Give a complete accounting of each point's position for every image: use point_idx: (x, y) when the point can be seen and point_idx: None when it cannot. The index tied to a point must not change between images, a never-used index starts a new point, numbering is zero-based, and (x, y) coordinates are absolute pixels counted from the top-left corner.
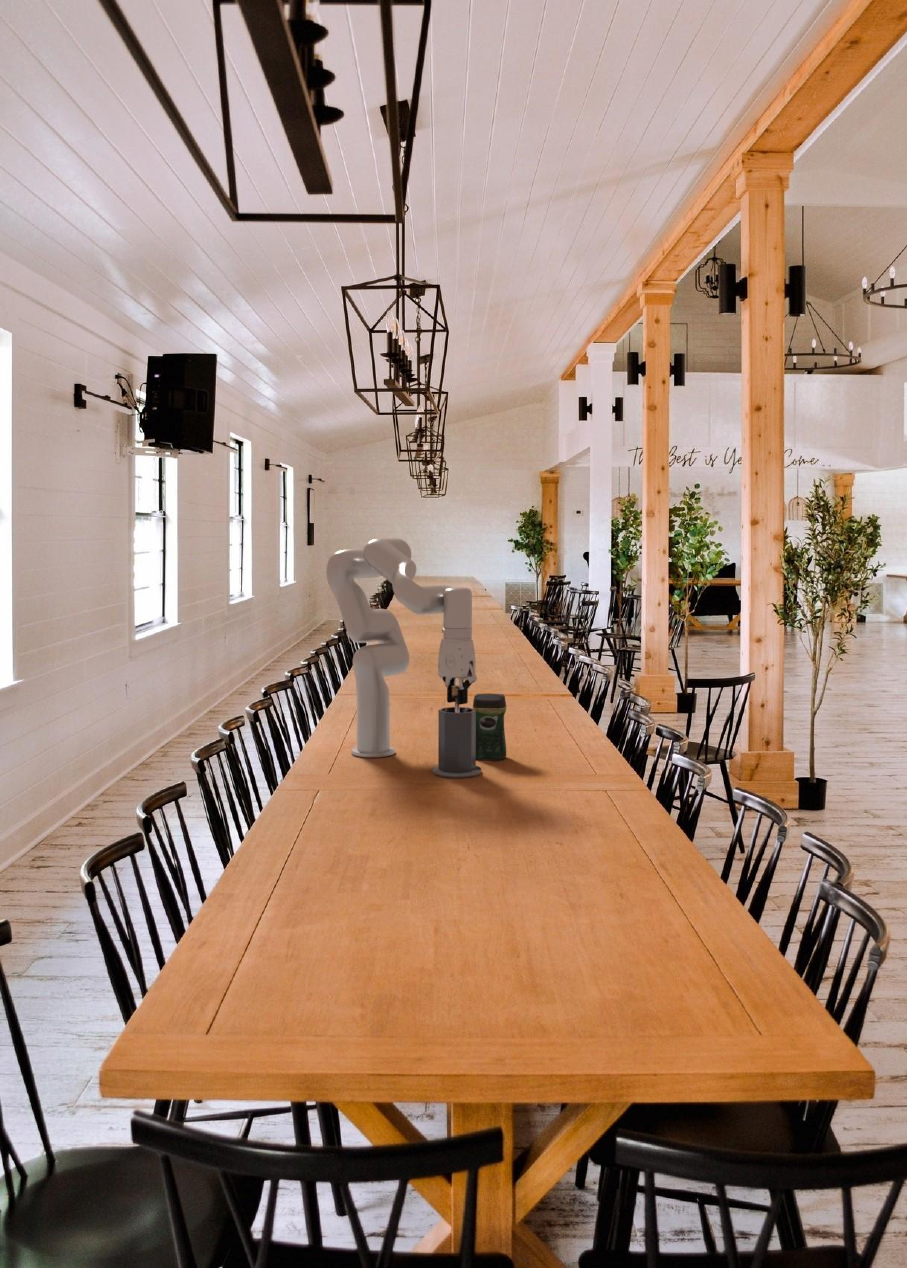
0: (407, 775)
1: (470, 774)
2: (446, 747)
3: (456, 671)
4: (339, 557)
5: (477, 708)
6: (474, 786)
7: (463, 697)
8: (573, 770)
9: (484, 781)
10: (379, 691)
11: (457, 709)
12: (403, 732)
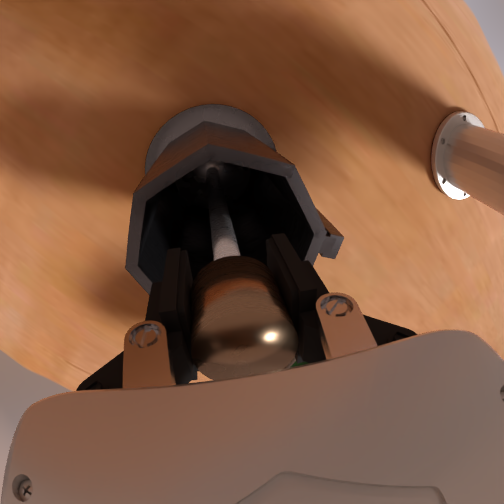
0: (274, 51)
1: (145, 166)
2: (198, 130)
3: (114, 468)
4: None
5: None
6: (74, 124)
7: (150, 295)
8: (101, 357)
9: (98, 172)
10: None
11: (214, 246)
12: (480, 289)
